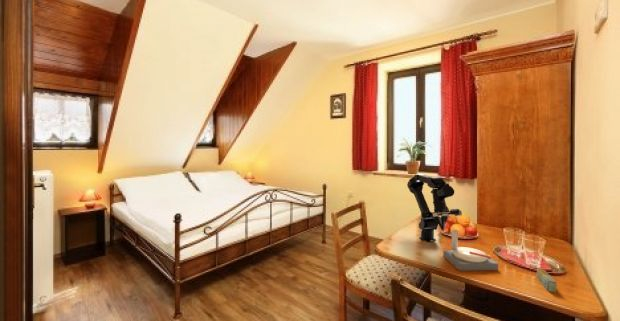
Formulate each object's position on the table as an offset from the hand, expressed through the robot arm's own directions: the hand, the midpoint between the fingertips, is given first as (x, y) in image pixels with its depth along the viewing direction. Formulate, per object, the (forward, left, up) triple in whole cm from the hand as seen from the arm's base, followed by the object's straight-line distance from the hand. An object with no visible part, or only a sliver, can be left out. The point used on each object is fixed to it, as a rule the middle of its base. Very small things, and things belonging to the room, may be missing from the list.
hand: (442, 230), depth 144 cm
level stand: (-1, +15, -11) cm, 18 cm away
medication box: (-11, +40, -12) cm, 43 cm away
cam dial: (-1, +15, -8) cm, 17 cm away
